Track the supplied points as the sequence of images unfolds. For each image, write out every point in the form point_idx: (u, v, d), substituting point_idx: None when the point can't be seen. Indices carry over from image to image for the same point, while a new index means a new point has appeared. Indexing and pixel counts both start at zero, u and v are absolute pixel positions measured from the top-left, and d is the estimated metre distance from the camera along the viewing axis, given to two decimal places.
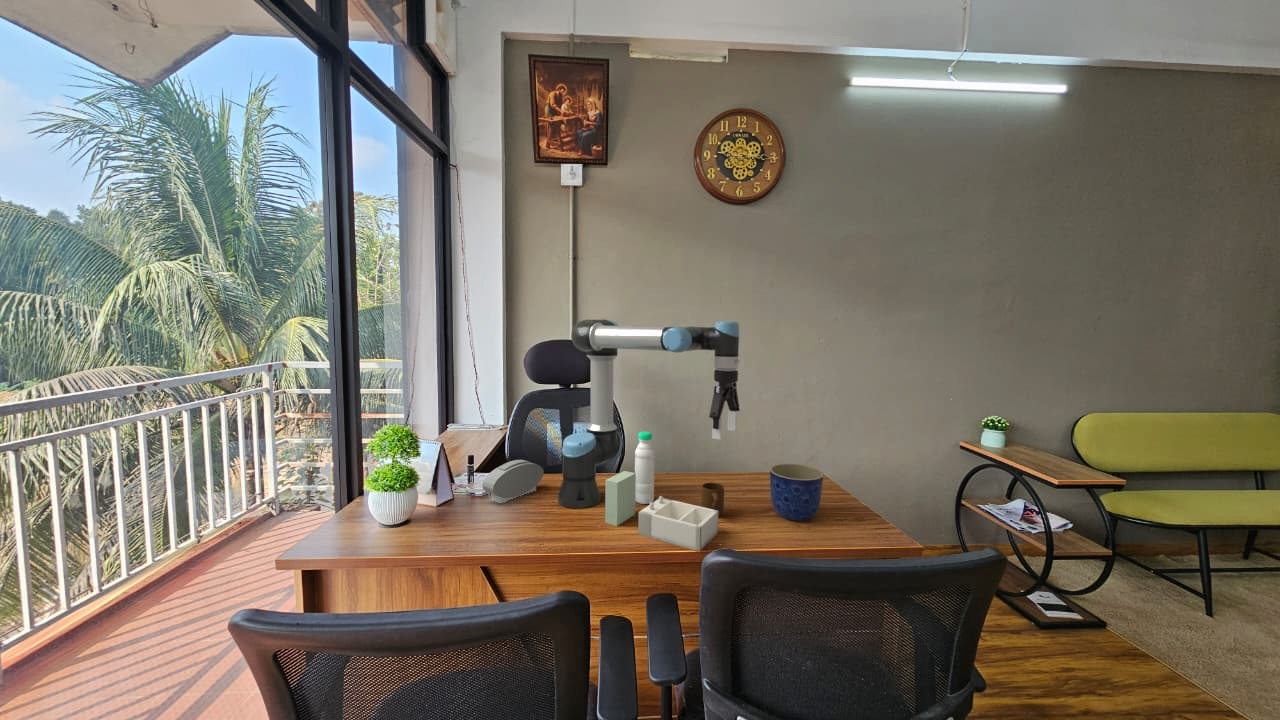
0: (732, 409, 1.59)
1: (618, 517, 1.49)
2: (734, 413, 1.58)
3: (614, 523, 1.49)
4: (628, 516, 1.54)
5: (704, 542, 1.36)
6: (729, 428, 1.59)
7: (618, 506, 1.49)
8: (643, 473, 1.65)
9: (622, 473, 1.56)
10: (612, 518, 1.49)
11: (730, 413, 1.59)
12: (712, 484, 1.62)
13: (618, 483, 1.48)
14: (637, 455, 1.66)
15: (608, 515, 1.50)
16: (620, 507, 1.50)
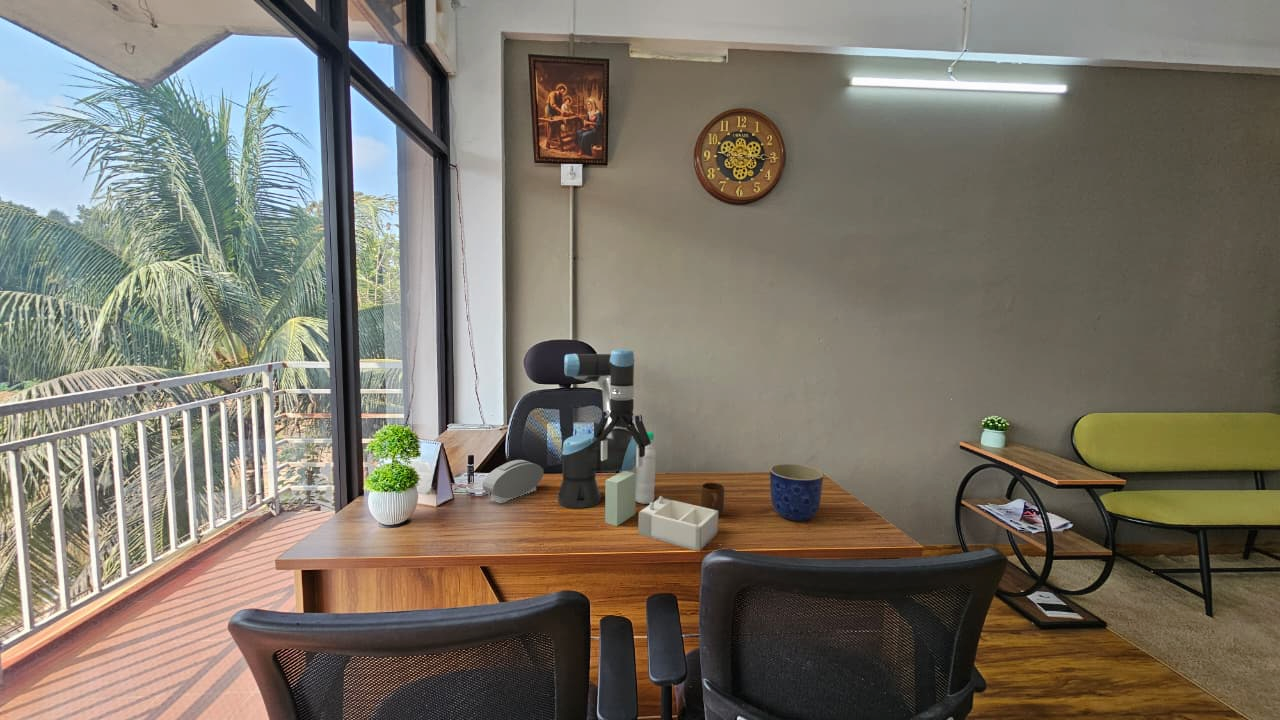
0: None
1: (618, 517, 1.49)
2: None
3: (614, 523, 1.49)
4: (628, 516, 1.54)
5: (704, 542, 1.36)
6: None
7: (618, 506, 1.49)
8: (644, 473, 1.65)
9: (622, 473, 1.56)
10: (612, 518, 1.49)
11: None
12: (712, 484, 1.62)
13: (618, 483, 1.48)
14: None
15: (608, 515, 1.50)
16: (620, 507, 1.50)
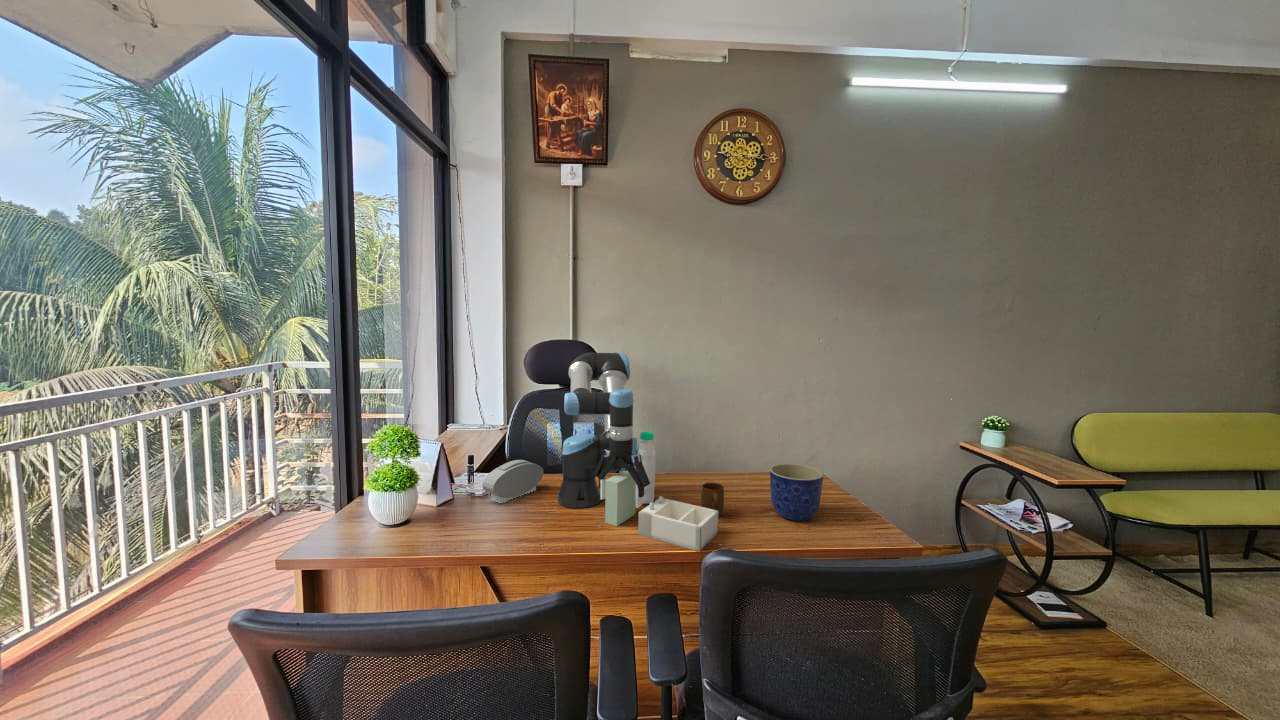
0: None
1: (618, 517, 1.49)
2: None
3: (614, 523, 1.49)
4: (628, 516, 1.54)
5: (704, 542, 1.36)
6: None
7: (618, 506, 1.49)
8: None
9: (622, 473, 1.56)
10: (612, 518, 1.49)
11: None
12: (712, 484, 1.62)
13: (618, 483, 1.48)
14: None
15: (608, 515, 1.50)
16: (620, 507, 1.50)
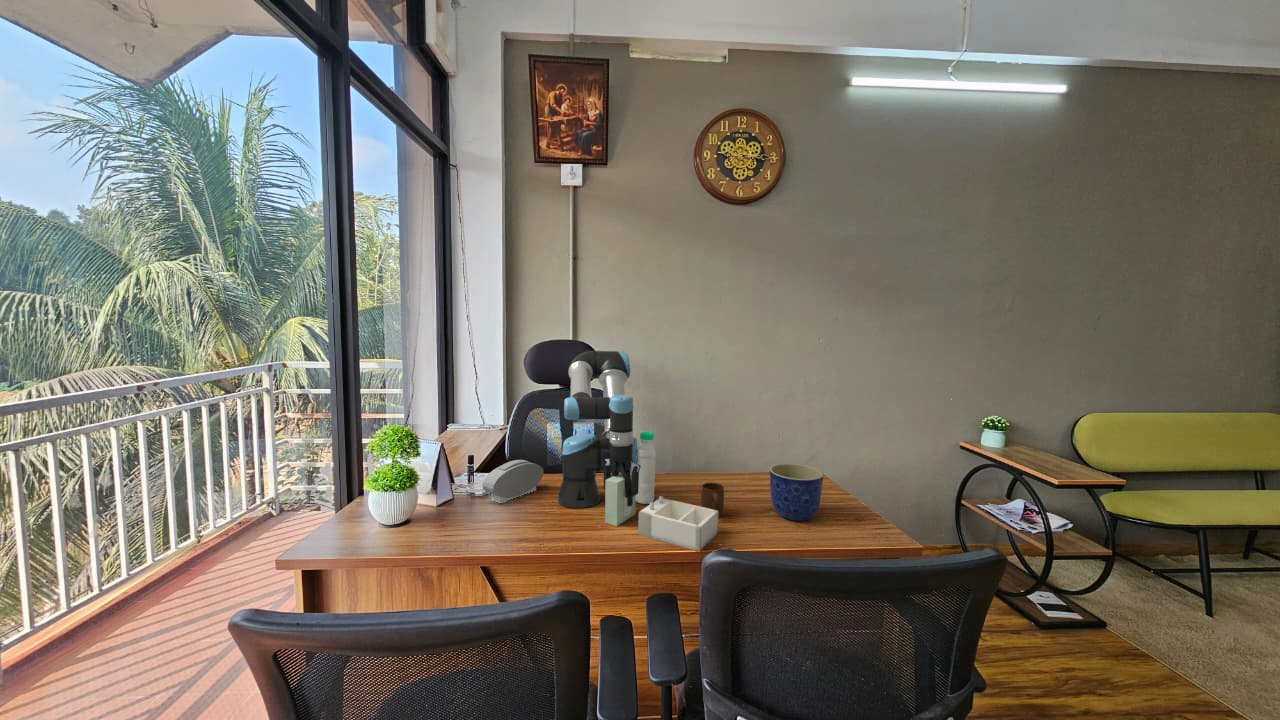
0: None
1: (618, 517, 1.49)
2: None
3: (614, 523, 1.49)
4: (628, 516, 1.54)
5: (704, 542, 1.36)
6: None
7: (618, 506, 1.49)
8: (644, 473, 1.65)
9: None
10: (612, 518, 1.49)
11: None
12: (712, 484, 1.62)
13: (618, 483, 1.48)
14: (638, 455, 1.65)
15: (608, 515, 1.50)
16: (620, 507, 1.50)
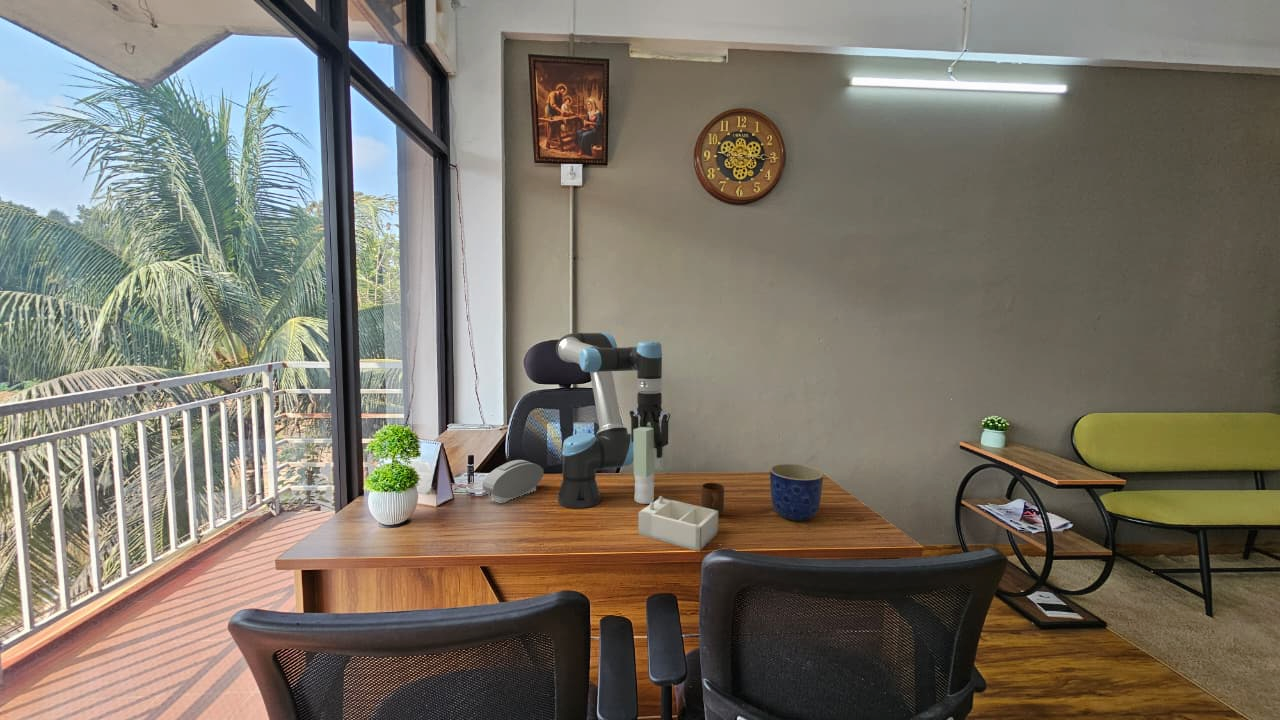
0: None
1: (647, 468, 1.41)
2: None
3: (643, 474, 1.41)
4: (657, 469, 1.46)
5: (704, 542, 1.36)
6: None
7: (647, 456, 1.41)
8: None
9: (650, 425, 1.49)
10: (640, 469, 1.42)
11: None
12: (712, 484, 1.62)
13: (647, 432, 1.41)
14: None
15: (637, 466, 1.42)
16: (649, 457, 1.42)
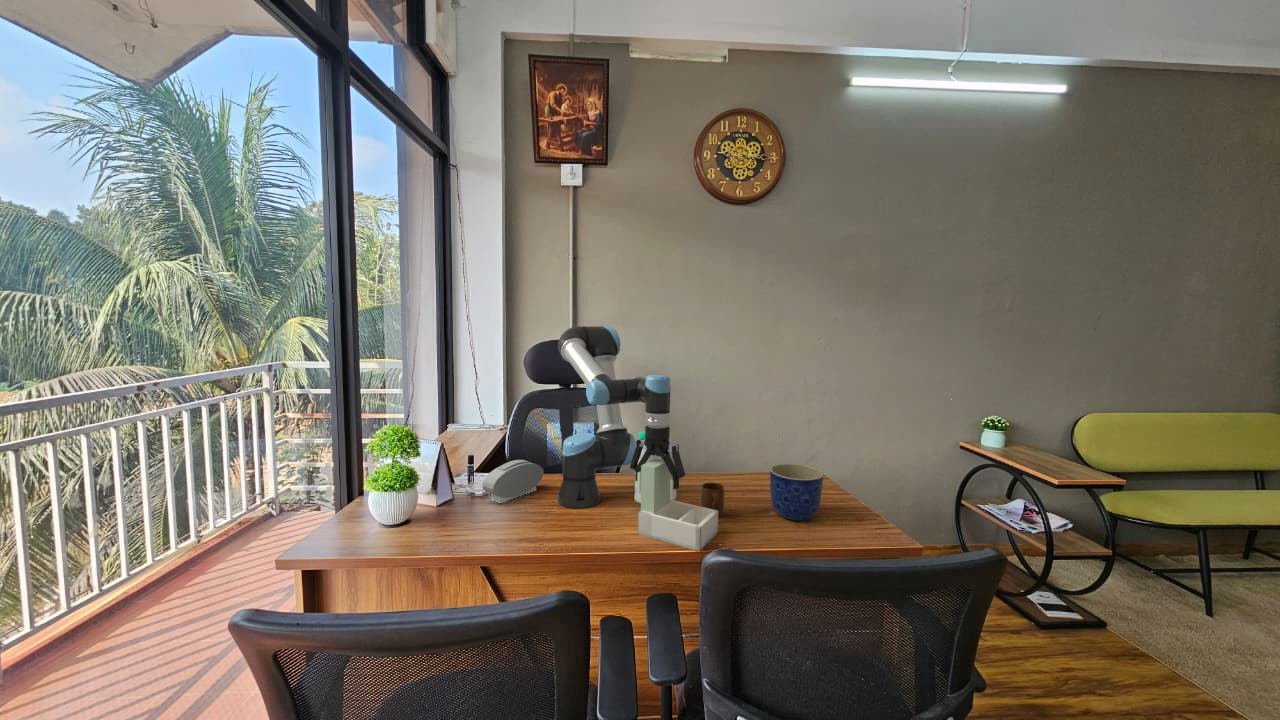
0: None
1: (655, 504, 1.42)
2: None
3: (651, 511, 1.42)
4: (664, 504, 1.47)
5: (704, 542, 1.36)
6: None
7: (655, 493, 1.41)
8: None
9: (657, 459, 1.49)
10: (648, 505, 1.42)
11: None
12: (712, 484, 1.62)
13: (655, 468, 1.41)
14: None
15: (644, 502, 1.43)
16: (656, 493, 1.42)
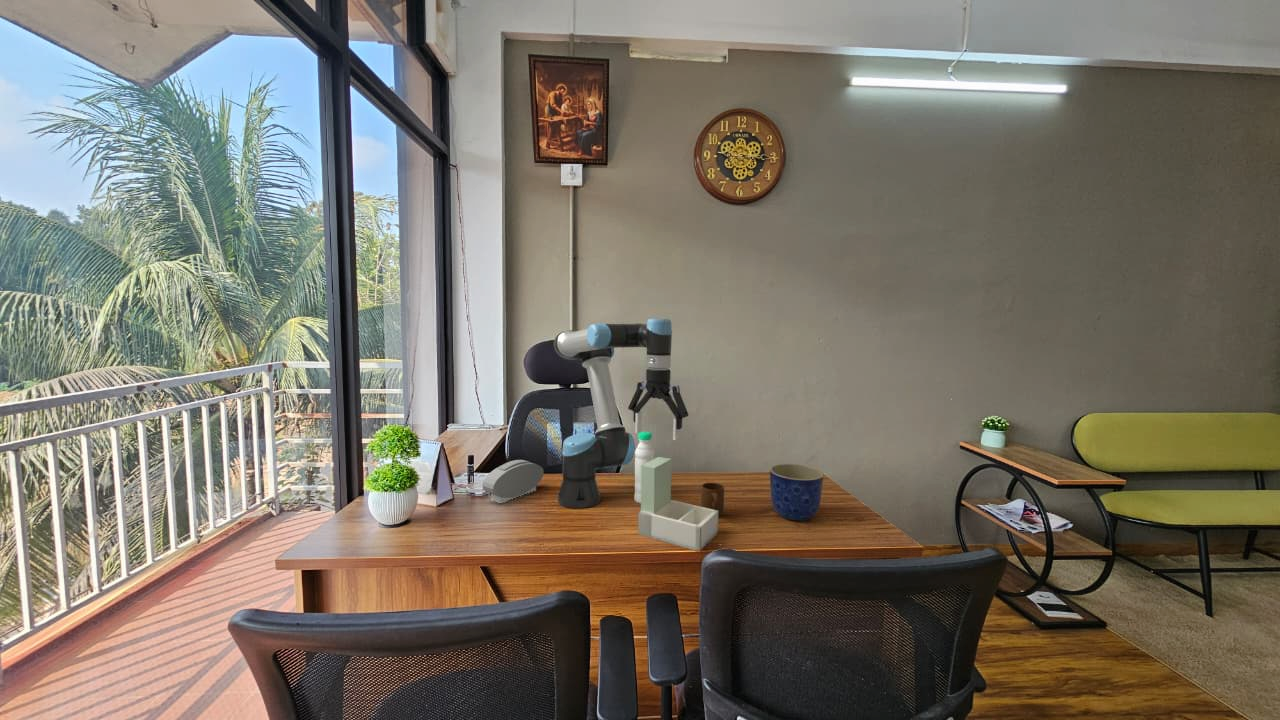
0: None
1: (655, 504, 1.42)
2: None
3: (651, 511, 1.42)
4: (664, 504, 1.47)
5: (704, 542, 1.36)
6: None
7: (655, 493, 1.41)
8: None
9: (657, 459, 1.49)
10: (648, 505, 1.42)
11: None
12: (712, 484, 1.62)
13: (655, 468, 1.41)
14: (637, 455, 1.66)
15: (644, 502, 1.43)
16: (656, 493, 1.42)
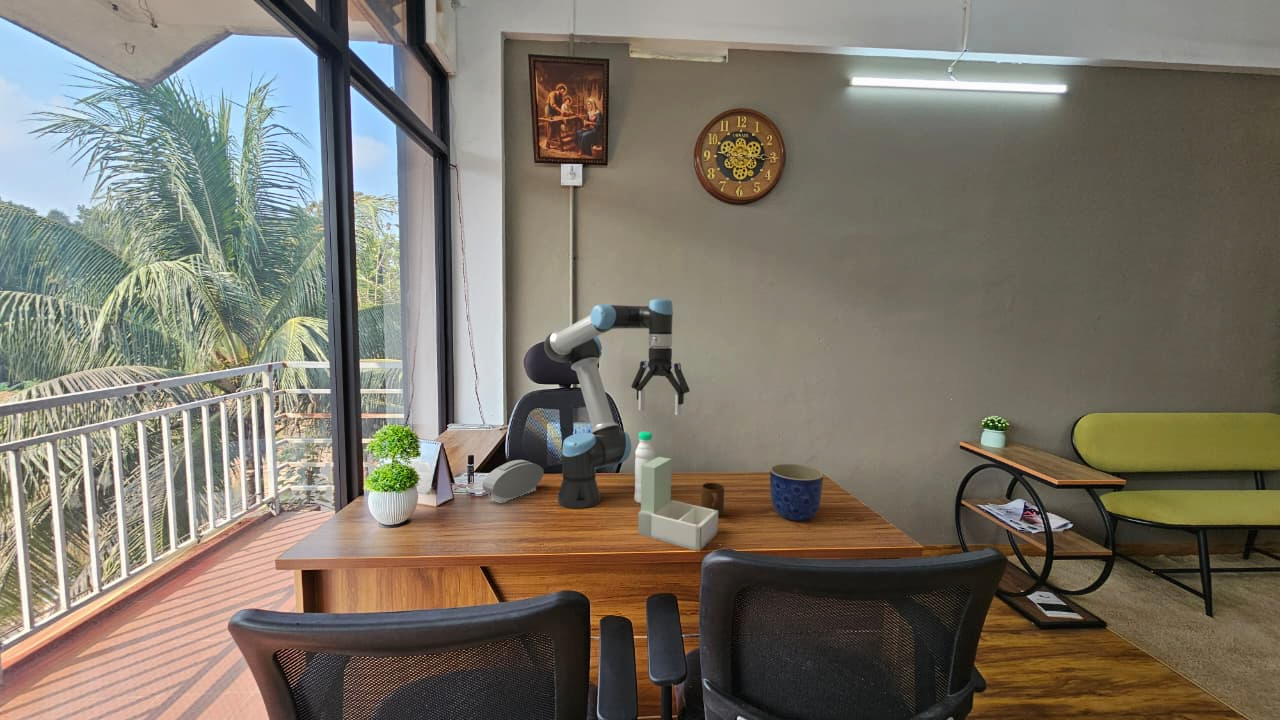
0: None
1: (655, 504, 1.42)
2: None
3: (651, 511, 1.42)
4: (664, 504, 1.47)
5: (704, 542, 1.36)
6: None
7: (655, 493, 1.41)
8: None
9: (657, 459, 1.49)
10: (648, 505, 1.42)
11: None
12: (712, 484, 1.62)
13: (655, 468, 1.41)
14: (637, 455, 1.66)
15: (644, 502, 1.43)
16: (656, 493, 1.42)
